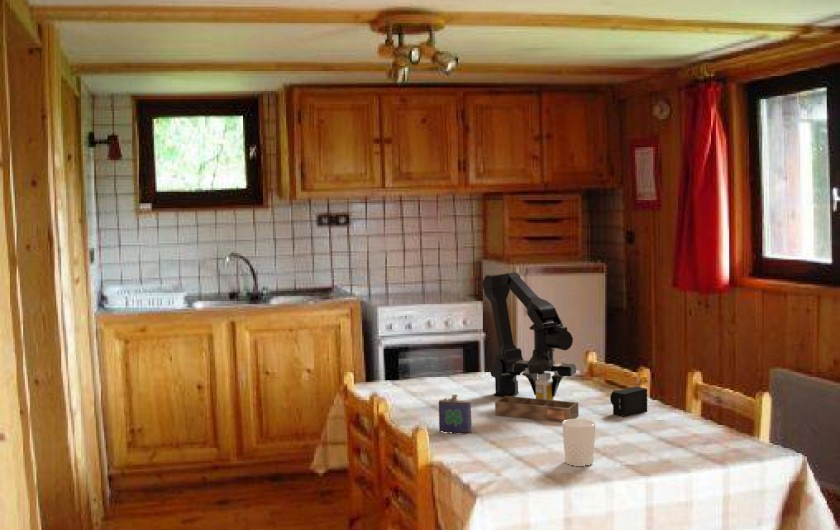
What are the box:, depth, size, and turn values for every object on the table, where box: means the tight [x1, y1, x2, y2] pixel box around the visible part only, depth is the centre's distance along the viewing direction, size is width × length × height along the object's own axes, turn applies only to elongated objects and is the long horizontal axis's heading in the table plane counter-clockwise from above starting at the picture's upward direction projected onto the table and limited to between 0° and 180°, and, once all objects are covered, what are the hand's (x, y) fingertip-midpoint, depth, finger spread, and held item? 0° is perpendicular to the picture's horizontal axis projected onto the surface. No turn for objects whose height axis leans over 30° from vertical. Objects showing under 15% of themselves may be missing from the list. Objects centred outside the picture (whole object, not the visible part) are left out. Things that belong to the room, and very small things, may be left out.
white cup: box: [561, 418, 596, 467], centre depth 217 cm, size 8×8×10 cm
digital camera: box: [609, 386, 648, 418], centre depth 263 cm, size 10×5×7 cm, turn 126°
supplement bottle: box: [535, 371, 555, 400], centre depth 273 cm, size 5×5×10 cm
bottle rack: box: [494, 396, 580, 423], centre depth 263 cm, size 23×8×4 cm, turn 62°
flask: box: [438, 394, 473, 434], centre depth 248 cm, size 9×3×11 cm, turn 74°
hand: (544, 395), depth 273 cm, fingers closed on supplement bottle, 5 cm apart
